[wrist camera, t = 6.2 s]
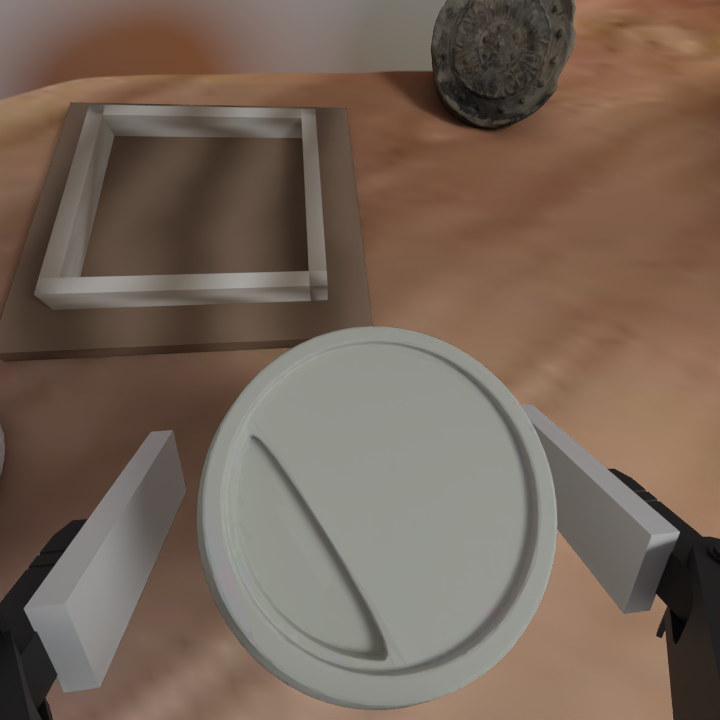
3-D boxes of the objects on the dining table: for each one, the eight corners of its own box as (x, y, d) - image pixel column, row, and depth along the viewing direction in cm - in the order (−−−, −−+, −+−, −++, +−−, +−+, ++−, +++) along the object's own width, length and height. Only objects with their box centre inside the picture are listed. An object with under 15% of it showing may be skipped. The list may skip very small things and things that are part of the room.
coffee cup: (267, 426, 20) (196, 306, 9) (424, 420, 21) (530, 304, 10) (259, 617, 17) (133, 785, 6) (447, 601, 18) (646, 722, 7)
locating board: (345, 120, 31) (347, 87, 28) (372, 343, 23) (377, 323, 20) (78, 116, 28) (57, 80, 26) (4, 361, 20) (-36, 340, 18)
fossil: (432, 131, 30) (453, -53, 24) (410, 118, 37) (422, -27, 31) (564, 131, 31) (617, -48, 25) (518, 118, 38) (550, -23, 32)
